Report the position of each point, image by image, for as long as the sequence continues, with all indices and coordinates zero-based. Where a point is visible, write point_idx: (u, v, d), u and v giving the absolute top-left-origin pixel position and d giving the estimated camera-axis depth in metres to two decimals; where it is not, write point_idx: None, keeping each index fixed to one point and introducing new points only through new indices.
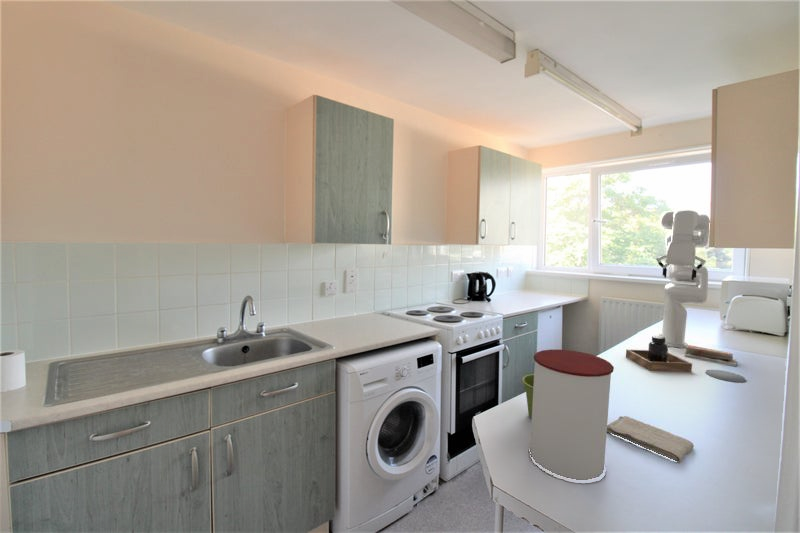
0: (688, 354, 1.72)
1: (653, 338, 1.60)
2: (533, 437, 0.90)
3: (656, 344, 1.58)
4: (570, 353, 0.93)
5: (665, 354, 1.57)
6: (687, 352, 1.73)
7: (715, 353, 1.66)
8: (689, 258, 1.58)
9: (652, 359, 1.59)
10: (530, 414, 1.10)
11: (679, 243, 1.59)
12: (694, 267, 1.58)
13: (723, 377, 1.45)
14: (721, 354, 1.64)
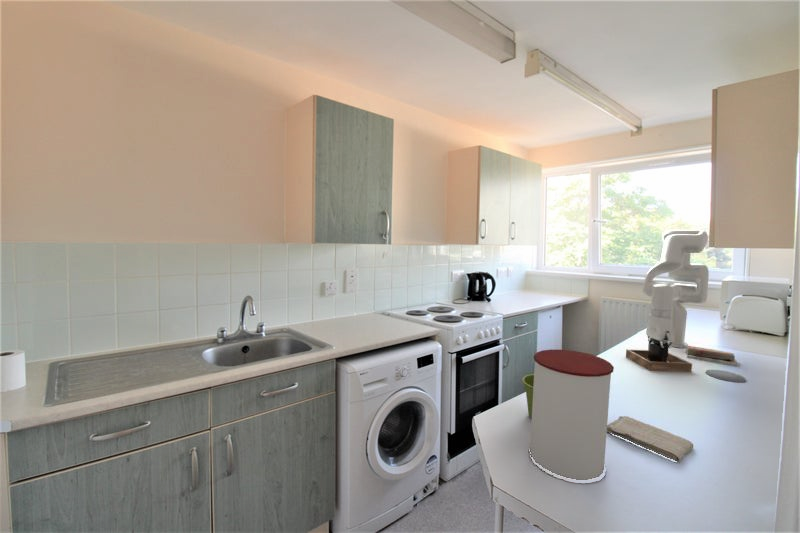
0: (690, 355, 1.70)
1: None
2: (533, 437, 0.90)
3: (656, 344, 1.58)
4: (570, 353, 0.93)
5: None
6: (689, 353, 1.71)
7: (717, 353, 1.65)
8: None
9: (652, 359, 1.59)
10: (530, 414, 1.10)
11: None
12: None
13: (723, 377, 1.45)
14: (723, 354, 1.64)
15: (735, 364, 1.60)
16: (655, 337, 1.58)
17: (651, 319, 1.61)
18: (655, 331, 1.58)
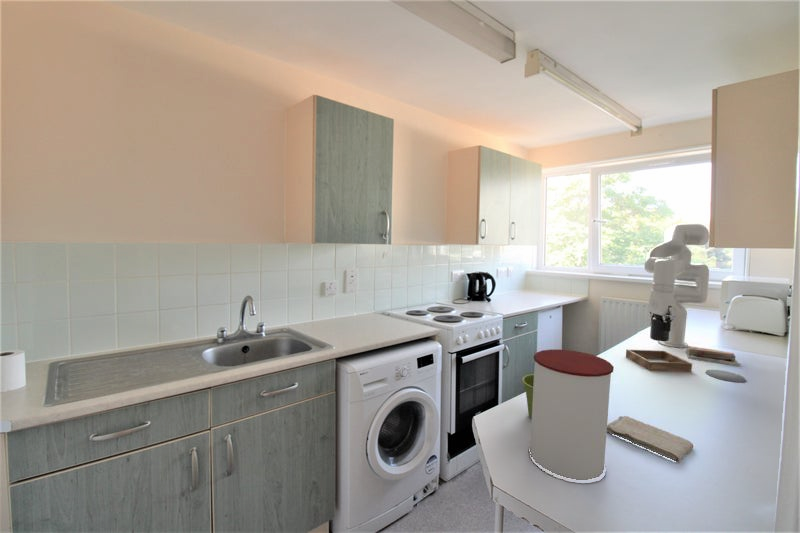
0: (691, 356, 1.70)
1: None
2: (533, 437, 0.90)
3: (658, 319, 1.58)
4: (570, 353, 0.93)
5: None
6: (690, 354, 1.70)
7: (718, 353, 1.65)
8: None
9: (654, 335, 1.59)
10: (530, 414, 1.10)
11: None
12: None
13: (723, 377, 1.45)
14: (724, 354, 1.64)
15: (736, 364, 1.61)
16: (657, 312, 1.57)
17: (653, 294, 1.60)
18: (657, 306, 1.57)
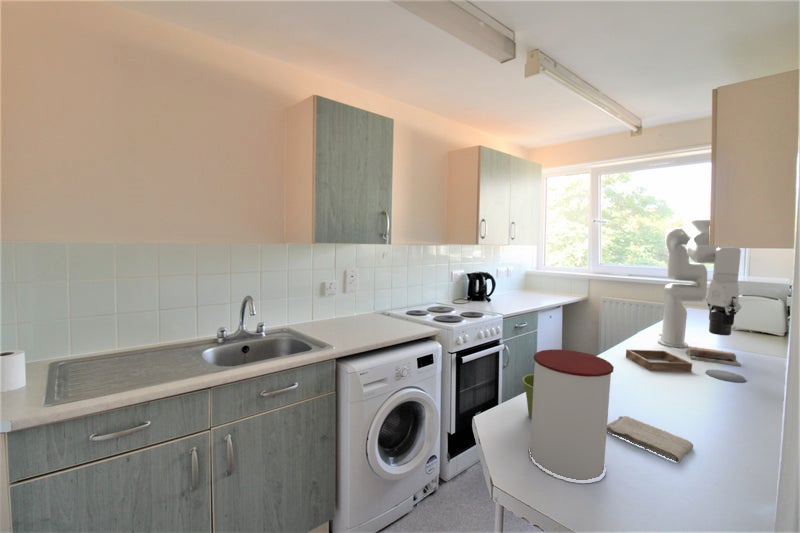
0: (693, 356, 1.69)
1: None
2: (533, 437, 0.90)
3: (720, 311, 1.46)
4: (570, 353, 0.93)
5: None
6: (691, 354, 1.70)
7: (719, 354, 1.65)
8: None
9: (715, 328, 1.47)
10: (530, 414, 1.10)
11: None
12: None
13: (723, 377, 1.45)
14: (725, 354, 1.64)
15: (738, 364, 1.61)
16: (719, 304, 1.45)
17: (713, 284, 1.48)
18: (719, 297, 1.45)
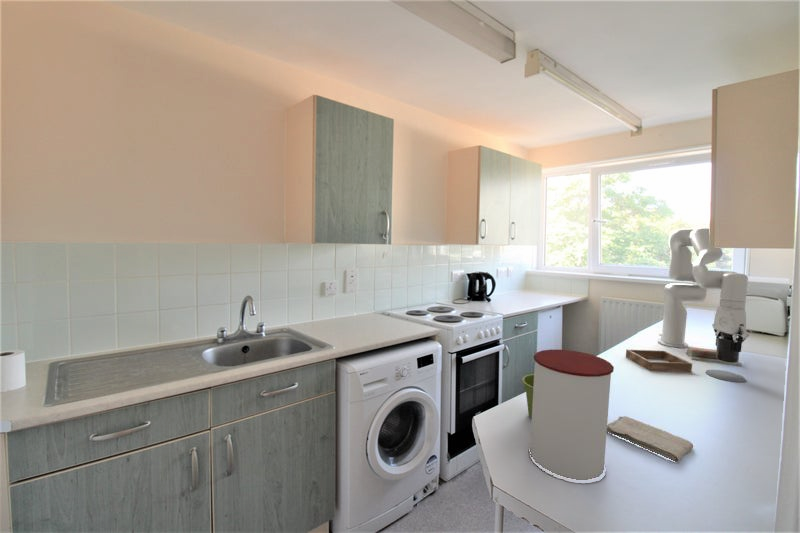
0: (695, 357, 1.68)
1: (723, 332, 1.46)
2: (533, 437, 0.90)
3: (727, 338, 1.45)
4: (570, 353, 0.93)
5: None
6: (693, 355, 1.69)
7: None
8: None
9: (722, 355, 1.46)
10: (530, 414, 1.10)
11: None
12: None
13: (723, 377, 1.45)
14: None
15: (739, 364, 1.61)
16: (726, 331, 1.44)
17: (720, 311, 1.48)
18: (726, 324, 1.45)
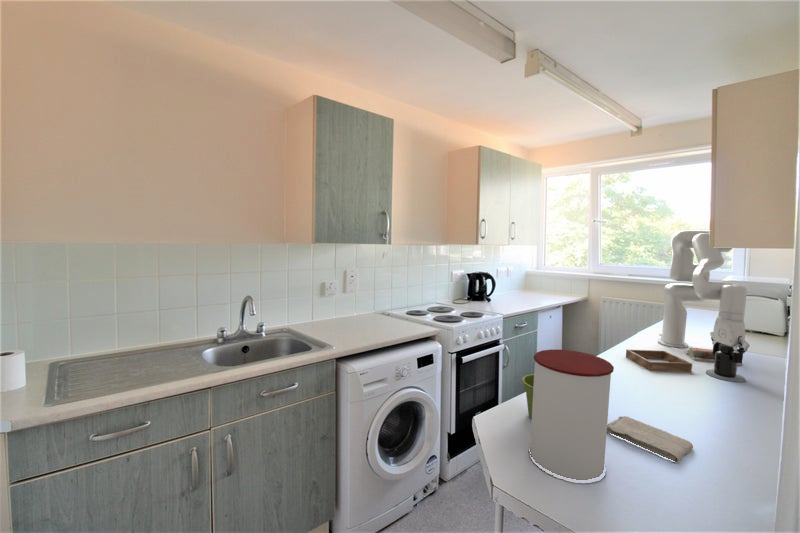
0: (697, 357, 1.67)
1: (721, 347, 1.47)
2: (533, 437, 0.90)
3: (725, 353, 1.46)
4: (570, 353, 0.93)
5: (735, 364, 1.45)
6: (695, 355, 1.68)
7: None
8: None
9: (720, 370, 1.47)
10: (530, 414, 1.10)
11: None
12: None
13: (723, 377, 1.45)
14: None
15: (740, 363, 1.61)
16: (725, 342, 1.45)
17: (719, 322, 1.48)
18: (725, 336, 1.45)
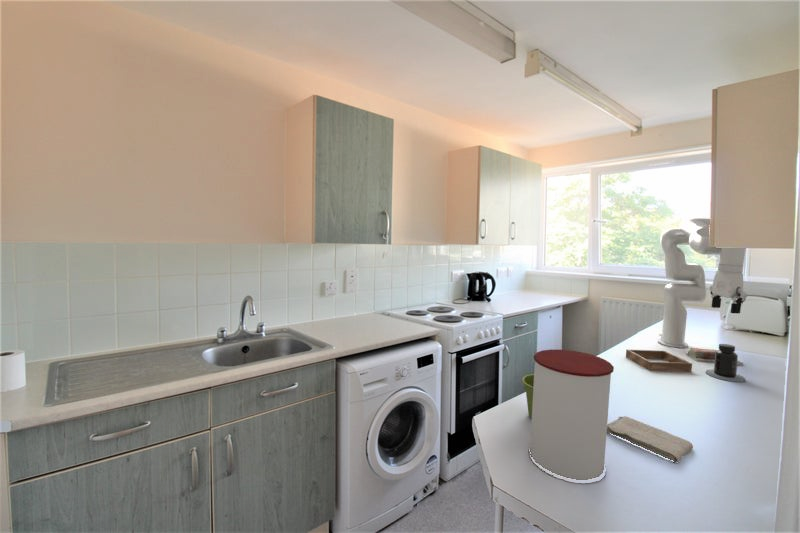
0: (699, 358, 1.66)
1: (721, 346, 1.47)
2: (533, 437, 0.90)
3: (725, 353, 1.46)
4: (570, 353, 0.93)
5: (735, 364, 1.45)
6: (697, 356, 1.67)
7: None
8: None
9: (720, 370, 1.47)
10: (530, 414, 1.10)
11: None
12: None
13: (723, 377, 1.45)
14: None
15: (741, 363, 1.62)
16: (724, 294, 1.49)
17: (718, 275, 1.52)
18: (724, 288, 1.49)
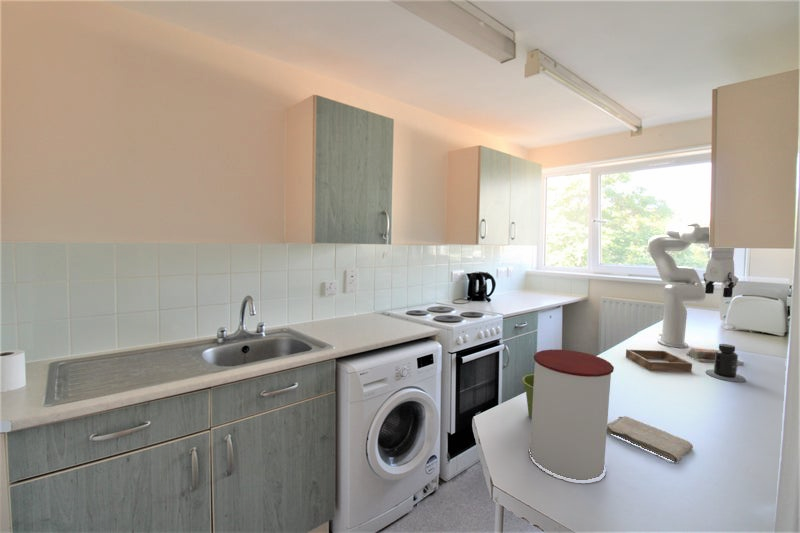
0: (701, 359, 1.65)
1: (721, 346, 1.47)
2: (533, 437, 0.90)
3: (725, 353, 1.46)
4: (570, 353, 0.93)
5: (735, 364, 1.45)
6: (698, 357, 1.66)
7: None
8: None
9: (720, 370, 1.47)
10: (530, 414, 1.10)
11: None
12: None
13: (723, 377, 1.45)
14: None
15: (741, 363, 1.62)
16: (716, 279, 1.58)
17: (711, 262, 1.62)
18: (716, 273, 1.59)
